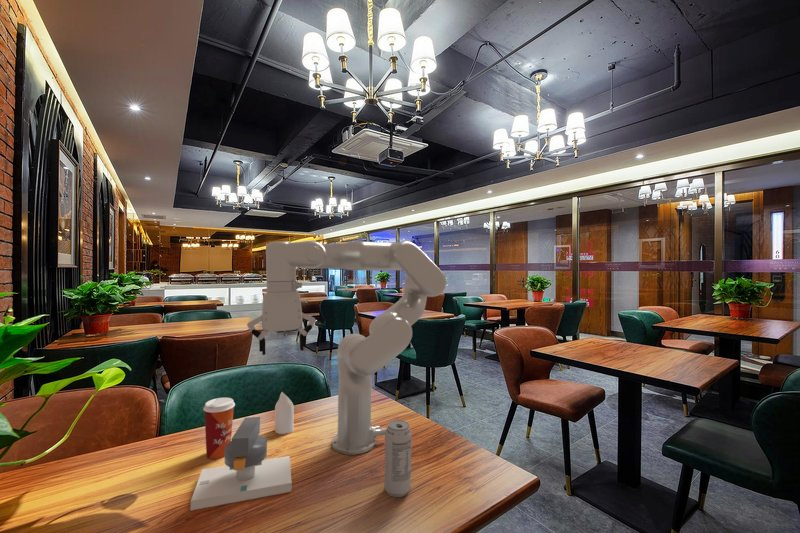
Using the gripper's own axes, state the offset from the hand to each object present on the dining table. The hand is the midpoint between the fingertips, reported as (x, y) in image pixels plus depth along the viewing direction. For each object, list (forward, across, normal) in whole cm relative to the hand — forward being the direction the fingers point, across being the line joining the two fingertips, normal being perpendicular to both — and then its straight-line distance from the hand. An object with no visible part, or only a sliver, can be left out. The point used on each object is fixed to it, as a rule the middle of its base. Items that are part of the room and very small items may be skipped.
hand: (283, 351), depth 93 cm
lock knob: (+21, +9, +9) cm, 25 cm away
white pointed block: (+28, -1, -16) cm, 33 cm away
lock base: (+28, +10, +9) cm, 31 cm away
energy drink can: (+29, -23, +24) cm, 44 cm away
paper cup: (+28, +17, -8) cm, 33 cm away
